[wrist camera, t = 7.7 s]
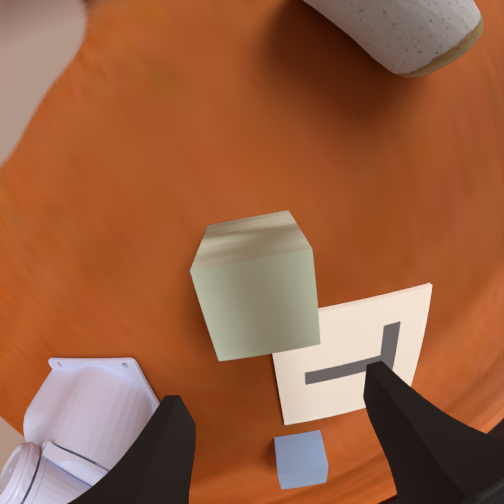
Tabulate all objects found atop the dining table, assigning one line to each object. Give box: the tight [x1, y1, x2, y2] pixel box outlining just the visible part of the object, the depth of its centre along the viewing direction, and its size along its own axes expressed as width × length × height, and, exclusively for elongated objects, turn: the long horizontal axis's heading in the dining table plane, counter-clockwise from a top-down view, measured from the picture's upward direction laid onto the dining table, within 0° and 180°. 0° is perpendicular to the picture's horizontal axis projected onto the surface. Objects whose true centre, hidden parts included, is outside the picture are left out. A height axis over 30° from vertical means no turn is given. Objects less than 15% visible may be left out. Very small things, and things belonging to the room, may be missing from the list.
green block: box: [190, 211, 321, 361], centre depth 14 cm, size 4×4×6 cm
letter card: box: [272, 283, 432, 425], centre depth 20 cm, size 12×12×1 cm
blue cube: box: [274, 430, 328, 490], centre depth 22 cm, size 4×4×4 cm
